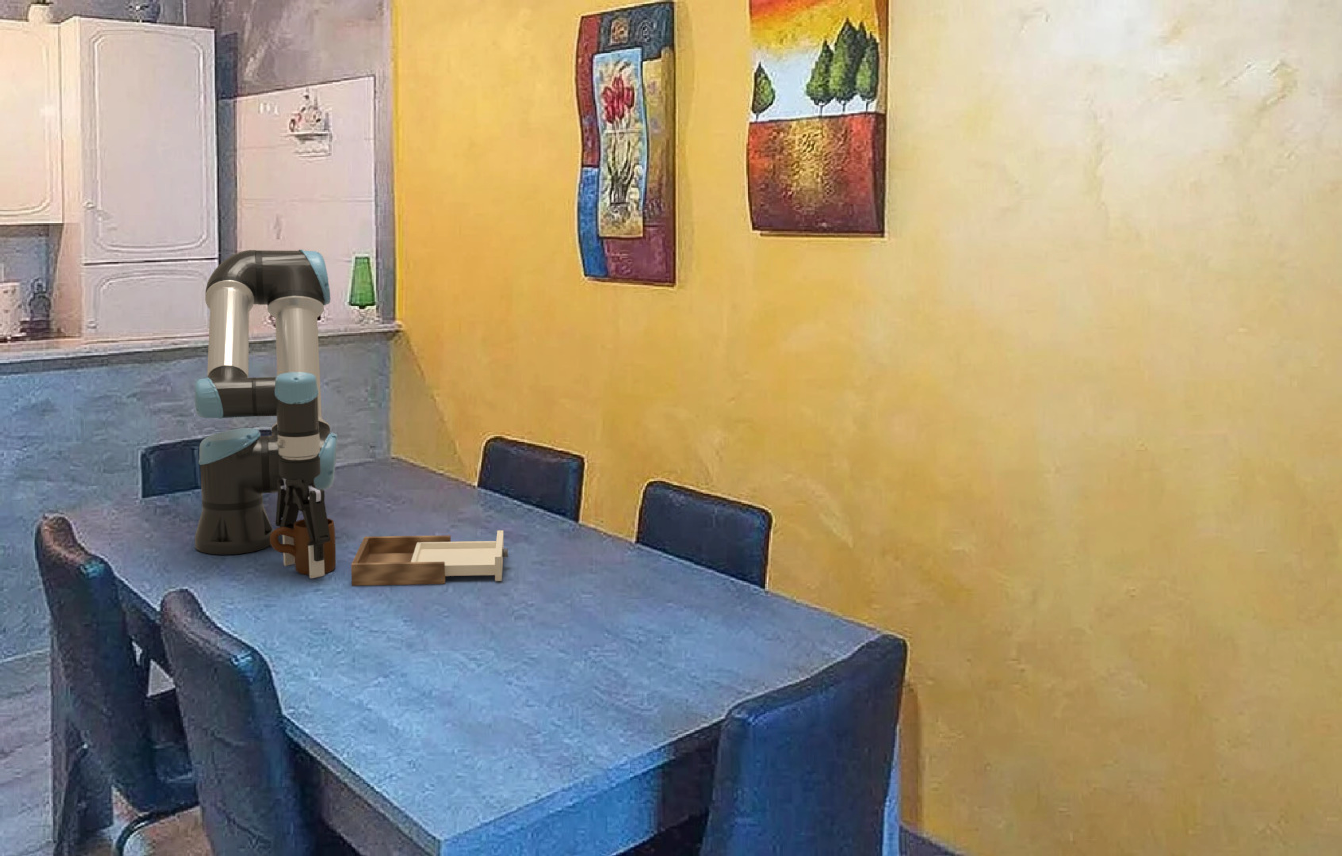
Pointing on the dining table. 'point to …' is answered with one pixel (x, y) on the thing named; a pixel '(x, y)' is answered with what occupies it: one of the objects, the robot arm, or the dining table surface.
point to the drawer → (465, 556)
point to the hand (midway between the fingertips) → (303, 570)
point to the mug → (304, 546)
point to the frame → (395, 562)
